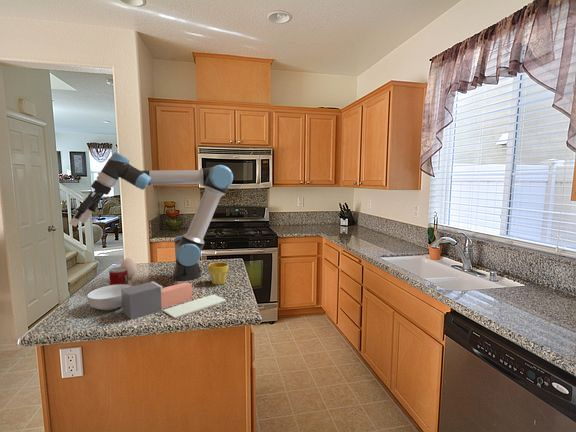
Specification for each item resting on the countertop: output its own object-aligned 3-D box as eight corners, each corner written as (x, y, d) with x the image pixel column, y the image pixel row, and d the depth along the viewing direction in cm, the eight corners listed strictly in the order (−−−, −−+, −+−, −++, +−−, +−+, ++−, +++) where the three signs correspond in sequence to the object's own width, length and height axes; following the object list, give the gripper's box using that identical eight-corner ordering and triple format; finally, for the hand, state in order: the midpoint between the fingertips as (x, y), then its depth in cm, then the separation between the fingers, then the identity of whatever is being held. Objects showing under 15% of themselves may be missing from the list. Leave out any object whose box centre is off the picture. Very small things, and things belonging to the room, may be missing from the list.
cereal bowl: (104, 299, 141) (103, 283, 140) (140, 299, 140) (139, 284, 140) (78, 315, 124) (77, 298, 123) (119, 315, 124) (118, 298, 123)
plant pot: (232, 280, 166) (232, 262, 164) (222, 286, 156) (221, 268, 155) (215, 278, 169) (215, 261, 168) (204, 284, 159) (204, 266, 158)
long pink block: (186, 296, 144) (186, 282, 143) (192, 299, 140) (191, 284, 139) (142, 309, 129) (141, 293, 128) (147, 313, 126) (146, 296, 125)
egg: (140, 276, 173) (138, 256, 172) (129, 281, 165) (128, 260, 164) (128, 275, 175) (126, 256, 173) (117, 280, 167) (115, 259, 166)
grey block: (154, 303, 135) (152, 281, 134) (163, 309, 128) (162, 286, 127) (122, 312, 126) (120, 288, 125) (131, 319, 119) (129, 294, 118)
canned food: (121, 294, 147) (119, 271, 145) (106, 293, 148) (105, 270, 147) (132, 288, 154) (131, 267, 153) (118, 287, 156) (116, 266, 154)
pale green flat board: (213, 295, 144) (213, 294, 144) (226, 301, 137) (226, 299, 137) (163, 311, 127) (163, 309, 127) (174, 318, 120) (174, 317, 120)
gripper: (102, 180, 153) (77, 217, 150) (88, 178, 129) (58, 221, 127) (117, 188, 155) (93, 224, 153) (105, 187, 132) (77, 230, 129)
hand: (77, 223), depth 140 cm, fingers open, 13 cm apart
